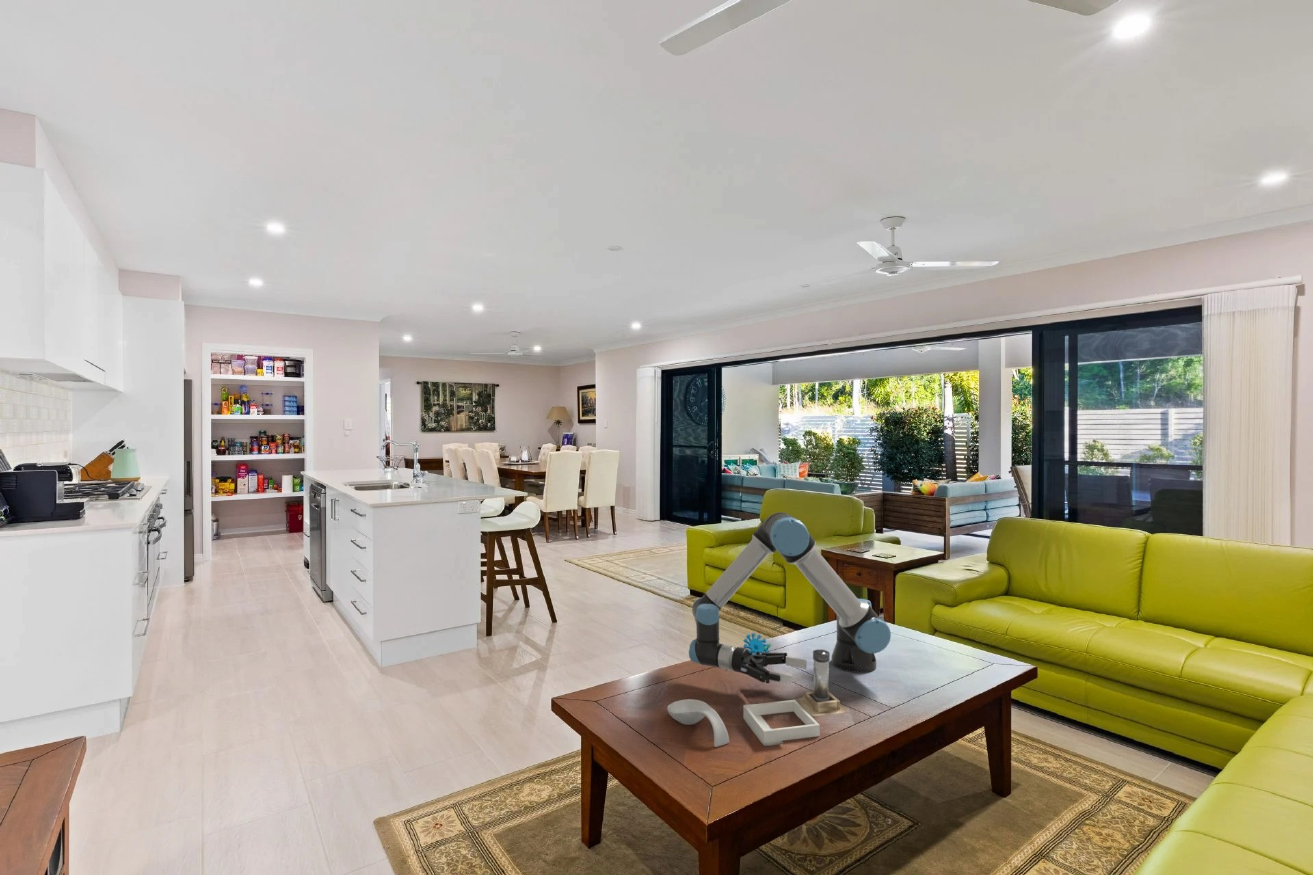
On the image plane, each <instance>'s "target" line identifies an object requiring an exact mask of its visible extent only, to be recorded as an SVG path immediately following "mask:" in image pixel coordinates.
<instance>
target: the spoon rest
mask: <svg viewBox="0 0 1313 875" xmlns="http://www.w3.org/2000/svg"><path fill="white" fill-rule="evenodd" d="M666 710H667V712H668V714H669V715H670V717H671V718H673V719H674V720H675V721H677V722H679V723H680V724H682V725H687V726H688V725H689V726H690V725H696V724H697V723H699V722H700V721H702V720H703V719H704V718H705V717H706V718H707V719H708V720H709V722H710V724H711V726H712V731H713V746H714V747H715V748H717V747H721V746H725V745H727V744H729V743H730V737H729V733H728V730H727V727H726V726H725V723H724V722H723V719H722V718H721V716H720V715H719V714H718V712H717V711H716V710H715V709H714V708H713V707H711V706H710V705H709V704H708V703H706V702H705V701H703V700H699V699H693V698H692V699H690V698H688V699H681V700H677V701H674V702H672V703H670V704H668V705H667V708H666Z"/></svg>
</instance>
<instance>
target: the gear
mask: <svg viewBox="0 0 1313 875" xmlns="http://www.w3.org/2000/svg"><path fill="white" fill-rule="evenodd" d="M755 637H756V633H755V632H752V633H751V634H747V635H746V638H744V640H743V642H744V644H743V648H745V649H748V650H749V652H750V654H751V655H756V652H770V650H769V648H770V647H772V644H771V643H767V644H765V643H766V642H767V640H766V638H763V639H761V638H762V635H761V634H758V635H757V638H755Z"/></svg>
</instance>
